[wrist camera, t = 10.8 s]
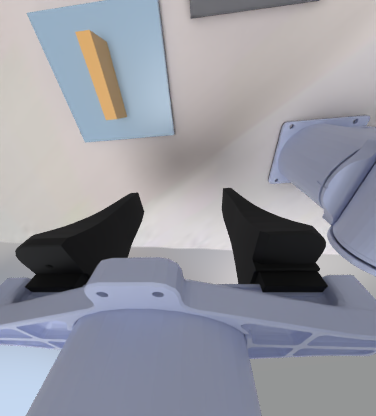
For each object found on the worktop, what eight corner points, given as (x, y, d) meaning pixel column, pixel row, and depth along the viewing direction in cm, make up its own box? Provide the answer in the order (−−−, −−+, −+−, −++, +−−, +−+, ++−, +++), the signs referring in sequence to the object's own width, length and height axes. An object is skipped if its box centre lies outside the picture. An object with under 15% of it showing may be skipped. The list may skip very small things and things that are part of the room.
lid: (159, 2, 13) (147, -34, 10) (175, 132, 19) (171, 139, 16) (40, 20, 14) (-10, -7, 11) (91, 140, 20) (70, 147, 17)
